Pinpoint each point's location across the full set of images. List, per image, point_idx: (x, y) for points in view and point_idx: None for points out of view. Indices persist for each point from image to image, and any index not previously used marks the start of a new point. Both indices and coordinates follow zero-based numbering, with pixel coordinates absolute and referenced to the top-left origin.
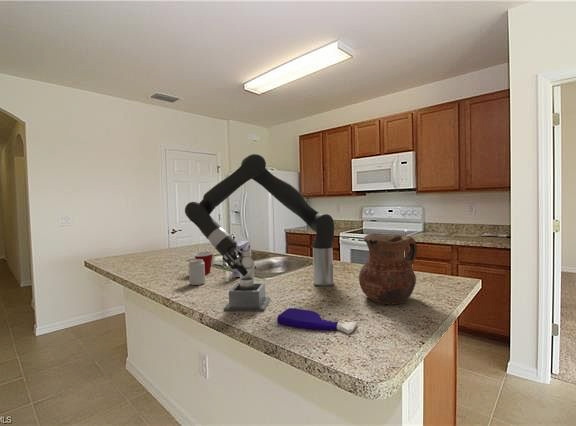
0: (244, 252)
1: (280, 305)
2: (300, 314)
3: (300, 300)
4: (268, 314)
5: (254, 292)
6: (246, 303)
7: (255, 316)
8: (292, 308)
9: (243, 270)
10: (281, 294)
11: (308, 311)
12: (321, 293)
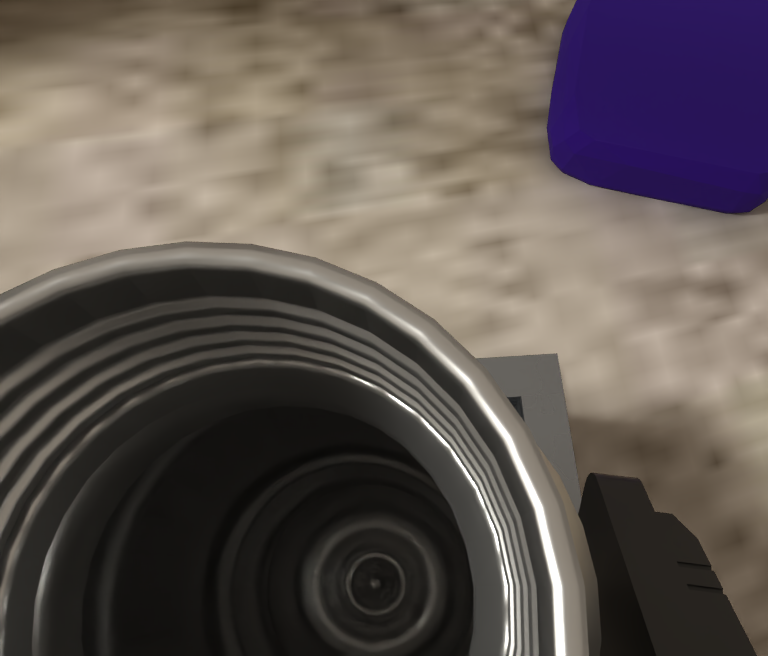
0: (575, 615)
1: (366, 267)
2: (681, 49)
3: (237, 143)
4: (589, 316)
5: (563, 413)
6: None
7: (660, 412)
8: (582, 110)
9: (690, 559)
10: None
11: (609, 14)
12: (72, 29)
